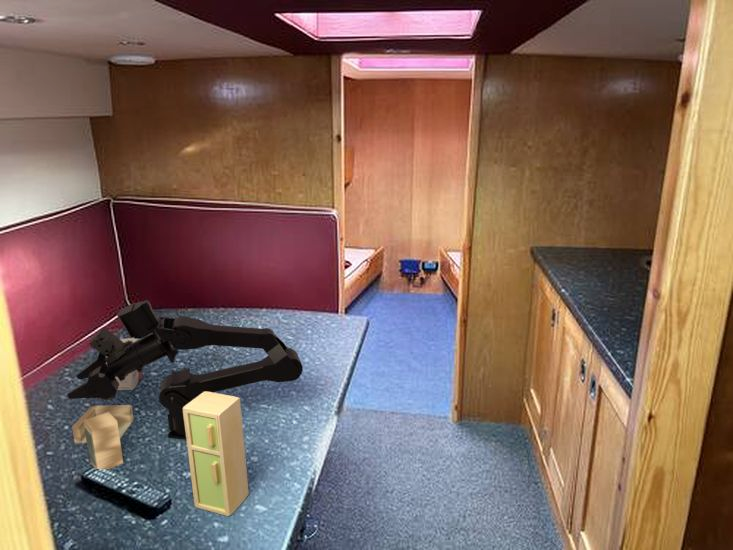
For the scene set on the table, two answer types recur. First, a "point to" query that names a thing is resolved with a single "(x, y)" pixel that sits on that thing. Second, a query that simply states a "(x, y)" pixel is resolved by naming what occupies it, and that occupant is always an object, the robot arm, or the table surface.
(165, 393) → the robot arm
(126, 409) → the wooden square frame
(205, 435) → the toy refrigerator
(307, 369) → the table surface
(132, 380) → the ink box
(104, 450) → the maple block
